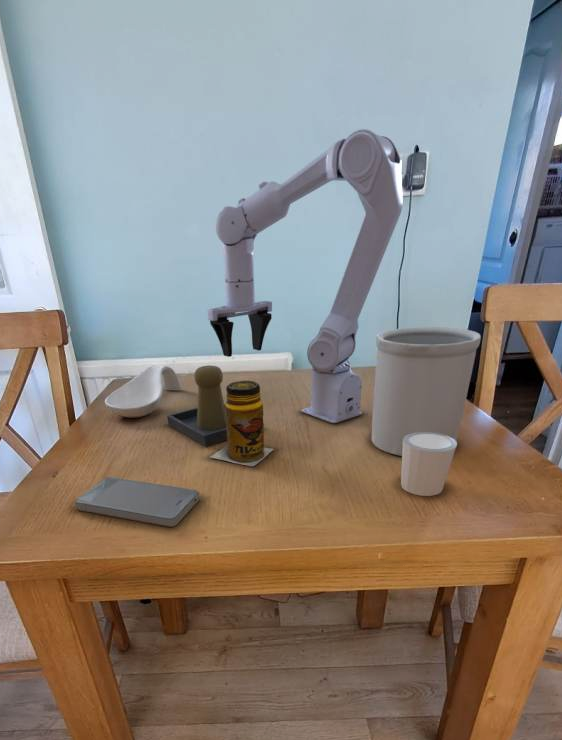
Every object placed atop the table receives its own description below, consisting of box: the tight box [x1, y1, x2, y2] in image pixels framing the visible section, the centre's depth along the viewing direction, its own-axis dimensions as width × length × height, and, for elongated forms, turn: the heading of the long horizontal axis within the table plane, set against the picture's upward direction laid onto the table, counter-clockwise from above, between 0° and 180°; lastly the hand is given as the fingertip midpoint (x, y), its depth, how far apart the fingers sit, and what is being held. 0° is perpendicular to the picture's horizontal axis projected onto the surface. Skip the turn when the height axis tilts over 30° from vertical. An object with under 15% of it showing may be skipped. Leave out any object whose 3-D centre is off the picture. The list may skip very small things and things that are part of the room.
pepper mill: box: [193, 364, 226, 430], centre depth 87 cm, size 6×6×11 cm
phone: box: [75, 476, 200, 528], centre depth 65 cm, size 8×16×1 cm, turn 68°
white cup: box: [400, 432, 458, 497], centre depth 64 cm, size 7×7×7 cm
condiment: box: [209, 380, 274, 467], centre depth 75 cm, size 7×8×12 cm
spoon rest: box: [104, 365, 182, 419], centre depth 102 cm, size 24×12×7 cm, turn 162°
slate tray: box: [166, 403, 227, 448], centre depth 89 cm, size 14×12×2 cm
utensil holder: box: [371, 326, 482, 457], centre depth 75 cm, size 15×15×18 cm
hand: (242, 352), depth 97 cm, fingers open, 7 cm apart
